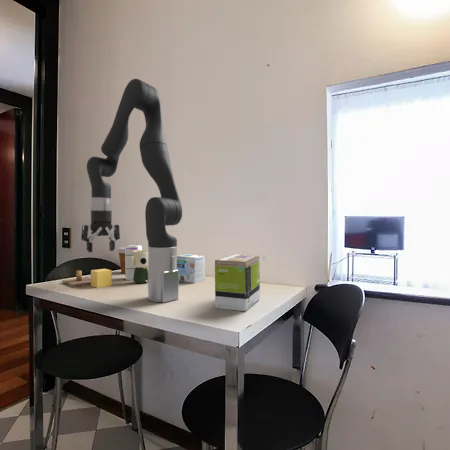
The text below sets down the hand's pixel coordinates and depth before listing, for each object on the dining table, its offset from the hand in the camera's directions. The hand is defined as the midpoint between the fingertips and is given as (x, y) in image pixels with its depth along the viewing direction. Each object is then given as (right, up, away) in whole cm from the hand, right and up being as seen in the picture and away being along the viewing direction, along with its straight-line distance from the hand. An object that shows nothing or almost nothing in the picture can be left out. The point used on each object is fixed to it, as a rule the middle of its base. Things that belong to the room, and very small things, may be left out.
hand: (101, 251), depth 121 cm
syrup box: (+9, -13, +14) cm, 21 cm away
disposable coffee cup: (+2, -13, +29) cm, 31 cm away
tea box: (+52, -15, -23) cm, 59 cm away
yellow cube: (0, -13, 0) cm, 13 cm away
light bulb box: (+33, -14, +11) cm, 38 cm away
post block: (-10, -13, +4) cm, 17 cm away
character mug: (+14, -14, +6) cm, 20 cm away
